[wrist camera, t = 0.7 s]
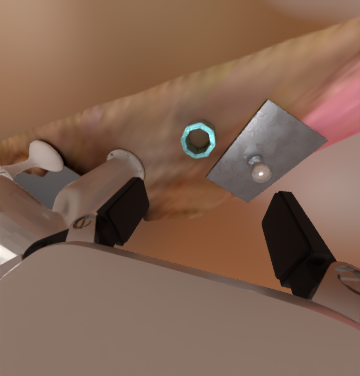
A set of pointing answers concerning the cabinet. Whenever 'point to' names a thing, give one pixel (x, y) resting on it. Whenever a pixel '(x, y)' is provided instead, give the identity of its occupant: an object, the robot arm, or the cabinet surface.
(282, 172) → the metal plate with knob
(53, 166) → the flower in vase
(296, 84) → the cabinet surface
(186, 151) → the ring
